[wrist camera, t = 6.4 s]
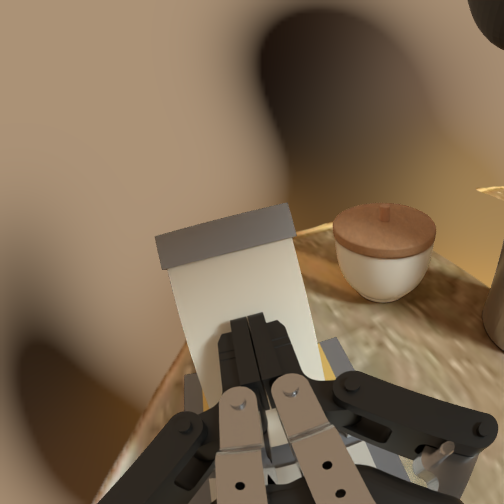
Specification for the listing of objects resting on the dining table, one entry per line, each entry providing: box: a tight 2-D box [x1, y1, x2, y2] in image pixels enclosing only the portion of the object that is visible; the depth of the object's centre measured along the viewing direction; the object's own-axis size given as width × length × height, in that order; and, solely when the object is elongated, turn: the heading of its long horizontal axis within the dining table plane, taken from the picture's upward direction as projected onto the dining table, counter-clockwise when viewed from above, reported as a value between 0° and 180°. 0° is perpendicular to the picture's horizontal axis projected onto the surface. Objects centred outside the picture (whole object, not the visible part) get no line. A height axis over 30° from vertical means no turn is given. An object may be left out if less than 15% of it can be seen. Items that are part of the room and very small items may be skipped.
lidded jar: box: [333, 203, 436, 303], centre depth 26 cm, size 11×11×9 cm
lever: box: [155, 203, 325, 447], centre depth 13 cm, size 2×6×12 cm
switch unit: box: [184, 337, 410, 504], centre depth 13 cm, size 14×12×4 cm
